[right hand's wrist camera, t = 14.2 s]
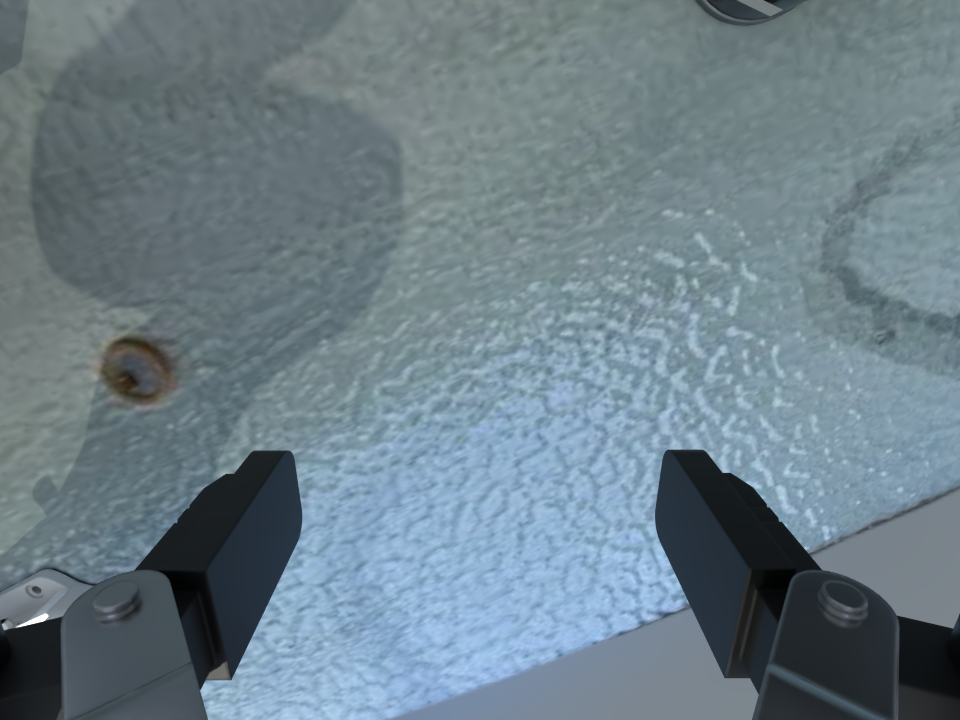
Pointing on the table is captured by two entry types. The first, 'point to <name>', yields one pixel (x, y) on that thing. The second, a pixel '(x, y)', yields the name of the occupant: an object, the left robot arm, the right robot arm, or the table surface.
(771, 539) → the right robot arm
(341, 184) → the table surface
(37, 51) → the table surface
